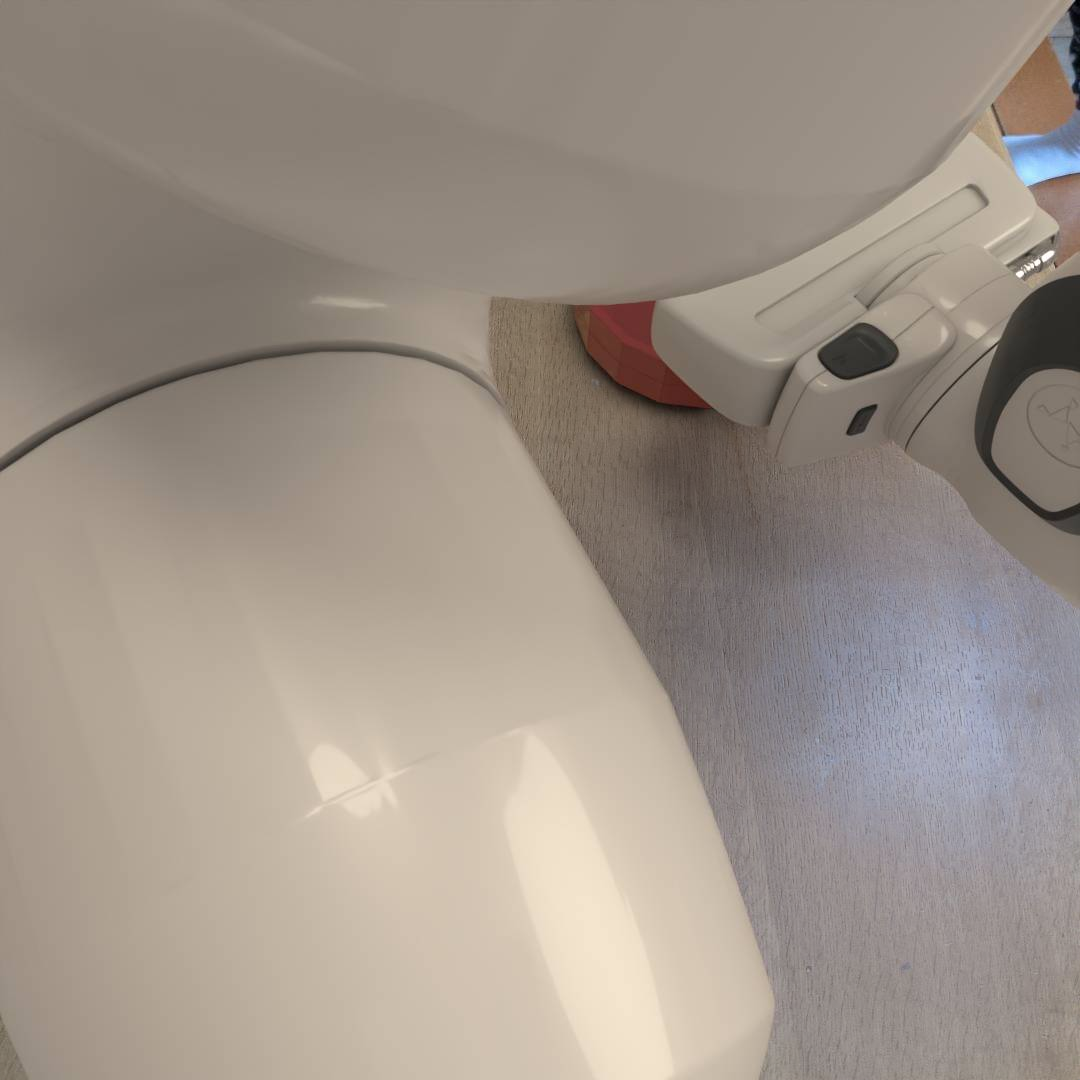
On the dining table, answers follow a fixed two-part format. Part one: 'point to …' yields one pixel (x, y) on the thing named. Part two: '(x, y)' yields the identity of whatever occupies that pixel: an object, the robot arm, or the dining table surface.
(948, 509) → the dining table surface
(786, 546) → the dining table surface
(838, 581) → the dining table surface
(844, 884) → the dining table surface
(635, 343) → the red bowl
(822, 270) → the robot arm
